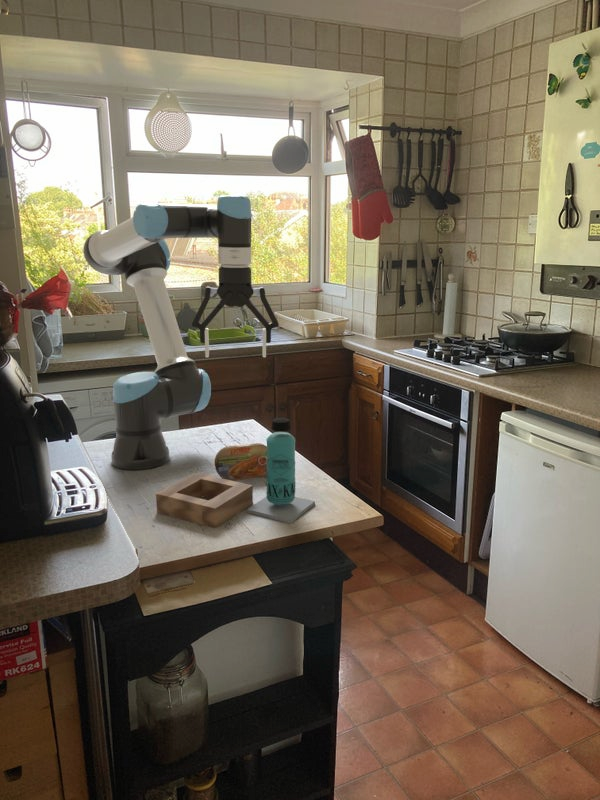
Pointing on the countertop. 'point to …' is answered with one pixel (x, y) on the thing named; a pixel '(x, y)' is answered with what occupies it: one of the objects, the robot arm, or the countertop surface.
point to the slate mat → (281, 509)
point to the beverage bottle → (280, 463)
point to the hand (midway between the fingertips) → (235, 356)
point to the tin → (241, 461)
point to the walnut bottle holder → (212, 513)
